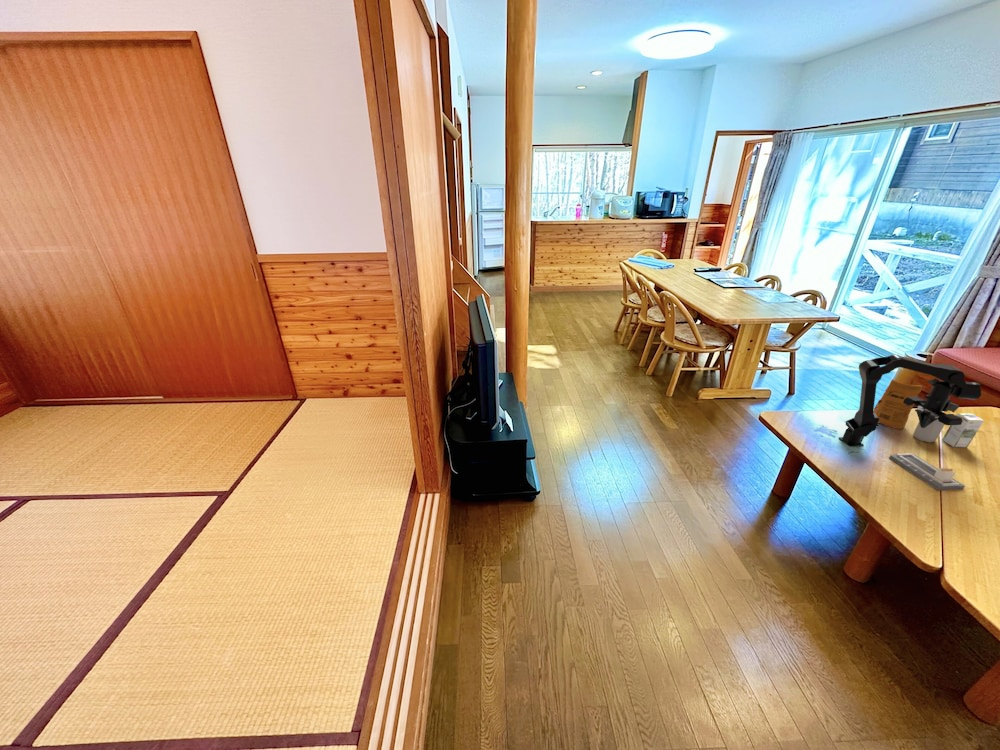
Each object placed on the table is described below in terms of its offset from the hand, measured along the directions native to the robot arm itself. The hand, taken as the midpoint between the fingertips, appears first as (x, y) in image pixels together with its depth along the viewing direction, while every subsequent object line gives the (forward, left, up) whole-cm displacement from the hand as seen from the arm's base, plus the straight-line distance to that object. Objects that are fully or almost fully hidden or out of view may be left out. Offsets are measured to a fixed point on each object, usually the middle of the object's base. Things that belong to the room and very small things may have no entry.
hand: (922, 427), depth 167 cm
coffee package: (+10, +22, -12) cm, 27 cm away
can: (+14, +8, -12) cm, 20 cm away
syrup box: (+23, +3, -12) cm, 26 cm away
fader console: (-8, -14, -12) cm, 20 cm away
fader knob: (-9, -20, -10) cm, 24 cm away
